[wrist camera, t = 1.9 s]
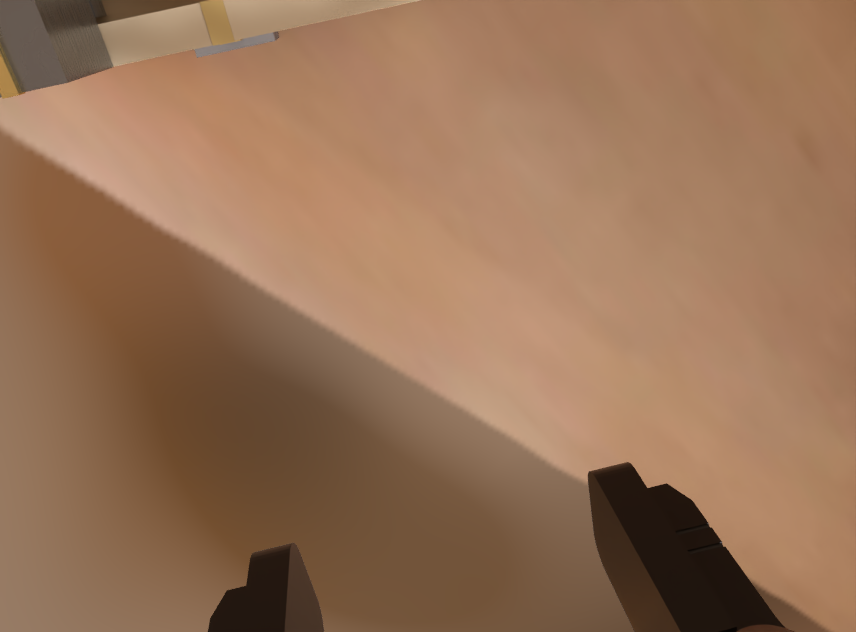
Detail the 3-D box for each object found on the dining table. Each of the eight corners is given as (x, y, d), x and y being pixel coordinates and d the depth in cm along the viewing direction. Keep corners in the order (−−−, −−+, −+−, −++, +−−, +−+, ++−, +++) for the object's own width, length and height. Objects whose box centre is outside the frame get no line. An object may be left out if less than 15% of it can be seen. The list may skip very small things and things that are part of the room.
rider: (-22, -63, 29) (-138, -82, 22) (70, -83, 30) (-15, -107, 22) (40, 82, 32) (-44, 108, 25) (124, 64, 32) (65, 85, 25)
